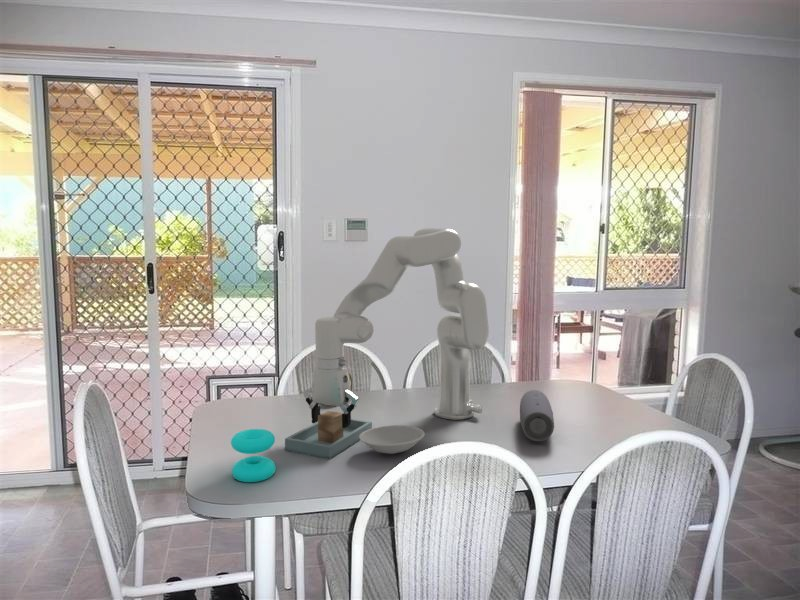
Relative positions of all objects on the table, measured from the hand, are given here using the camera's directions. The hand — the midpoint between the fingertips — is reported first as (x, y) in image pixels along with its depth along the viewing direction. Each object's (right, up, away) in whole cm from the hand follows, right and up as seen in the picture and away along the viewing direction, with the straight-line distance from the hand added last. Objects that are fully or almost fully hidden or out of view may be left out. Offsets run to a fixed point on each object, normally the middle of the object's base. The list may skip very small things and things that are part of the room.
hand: (331, 424), depth 159 cm
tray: (0, -5, 0) cm, 5 cm away
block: (0, -4, 0) cm, 4 cm away
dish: (+17, -6, -8) cm, 19 cm away
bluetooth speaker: (+58, -4, +9) cm, 59 cm away
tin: (-1, 0, +40) cm, 40 cm away
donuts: (-16, -8, -22) cm, 28 cm away
